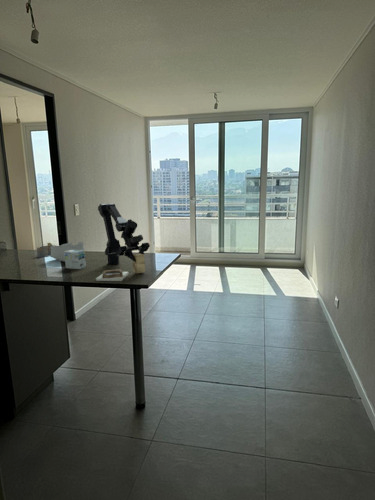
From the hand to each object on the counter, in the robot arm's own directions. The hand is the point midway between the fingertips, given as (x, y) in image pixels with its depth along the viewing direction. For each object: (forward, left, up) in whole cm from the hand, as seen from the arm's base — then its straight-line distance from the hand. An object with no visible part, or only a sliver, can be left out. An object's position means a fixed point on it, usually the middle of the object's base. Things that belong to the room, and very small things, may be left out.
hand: (139, 260), depth 185 cm
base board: (-14, -6, -8) cm, 17 cm away
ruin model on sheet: (-84, +50, -8) cm, 98 cm away
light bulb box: (-45, +15, -8) cm, 48 cm away
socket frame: (-14, -6, -6) cm, 17 cm away
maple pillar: (-1, +1, -7) cm, 7 cm away
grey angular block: (-59, +37, -8) cm, 70 cm away
